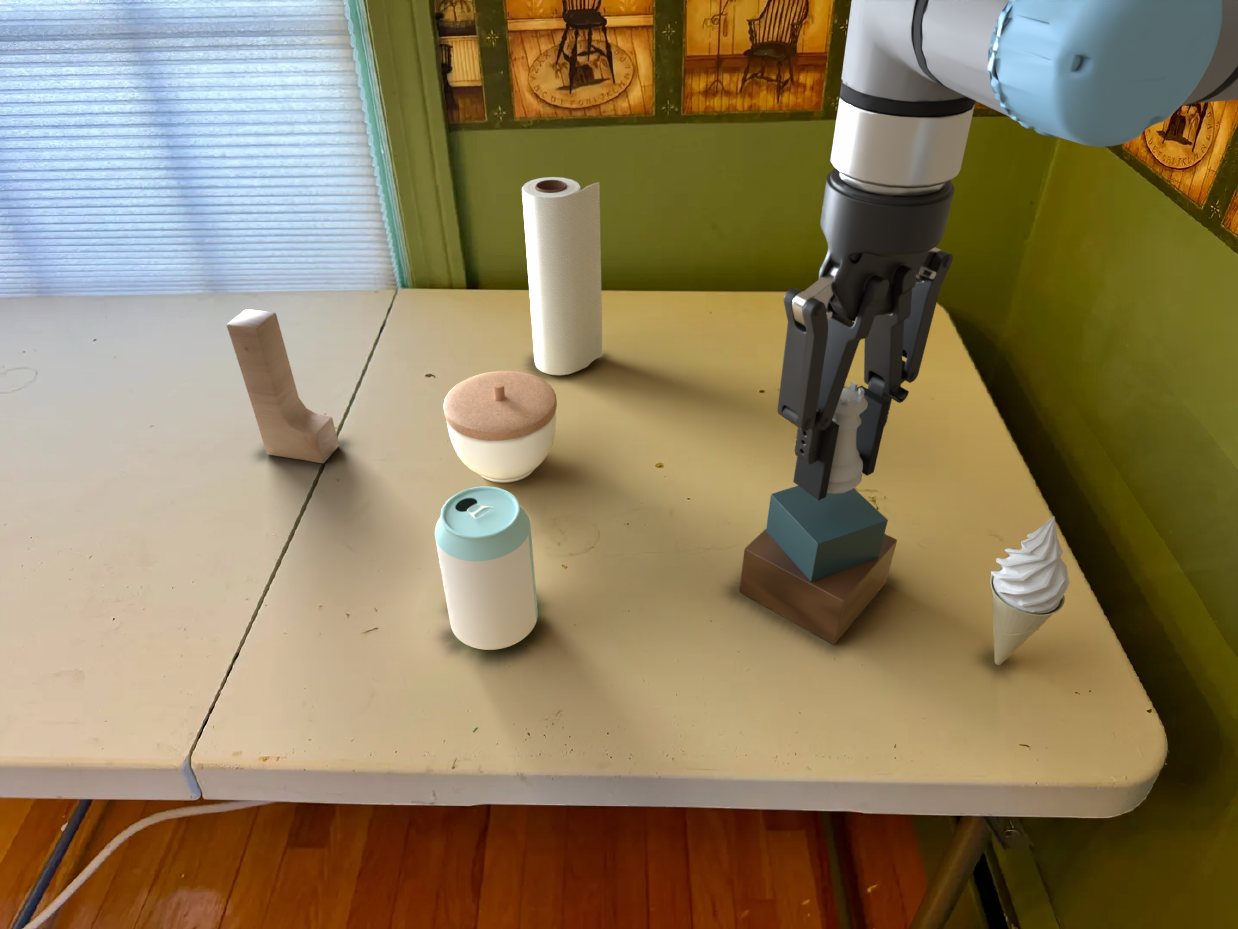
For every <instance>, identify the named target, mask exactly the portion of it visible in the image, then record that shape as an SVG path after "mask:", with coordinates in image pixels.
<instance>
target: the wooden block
mask: <svg viewBox="0 0 1238 929" xmlns="http://www.w3.org/2000/svg"><path fill="white" fill-rule="evenodd" d="M226 328H227V331H228V334H229V337H230V341H231V343H232V347H233V350H234V353H235V356H236V359H237V362H238V365H239V369H240V372H241V375H242V379H243V381H244V384H245V387H246V392H247V394H248V397H249V401H250V404H251V407H252V411H253V413H254V418H255V421H256V423H257V426H258V430H259V433H260V436H261V439H262V443H263V446H264V449H265V453H266V454H267V455H270V456H277V457H281V458H282V457H283V458H289V459H295V460H300V461H307V462H312V463H318V464H325V462H326V461H328V459H329V458H330V457H331V456H332V454H333V453H334V452H335V451H336V450H337V449H338V448H339V446H340V443H339V440H338V435H337V432H336V427H335V423H334V419H333V417H332V416H329V415H323V414H319V413H316V412H314V411H313V410H311V409H308V408H307V407H306V405H305V404H304V403H303V401H302V399H301V398H300V397H299V393H298V390H297V385H296V383H295V382H296V381H295V379H294V374H293V371H292V367H291V363H290V360H289V356H288V352H287V349H286V345H285V341H284V338H283V333H282V331H281V330H282V329H281V327H280V324H279V320H278V316H277V313H276V312H275V311H274V312H273V311H266V310H258V309H249V308H246V309H244V310H243V311H241V312H240V313H239V314H238V315H236V316H235V317H233V318H232V319H231V320H230V321H229V322H227V323H226Z"/></svg>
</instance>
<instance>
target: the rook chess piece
mask: <svg viewBox="0 0 1238 929" xmlns="http://www.w3.org/2000/svg"><path fill="white" fill-rule="evenodd" d="M858 384H859V383H856V382H853V381H851V382H850V385H849V386H846V384H845V385H844V387H843V390H842V393H841V396H840V399H839V402H838V405H837V408H836V411H835V414H834V416H833V419H832V421H833V422H835V423H837V424H838V425H839V430H838V436H837V441H836V446H835V452H834V457H833V462H832V468H831V473H830V478H829V484H828V489H827V493H832V494H839V493H845V492H848V491H850V490H852V489H856V488H857V487H858V486H859V485H860V483H861V482H862V478H863V473H862V470H863V462H862V459H861V457H860V456H859V452H858V450H857V447H856V432H857V427H858V426H859V425H860V424H861V418H860V416H859V414H861V413H862V412H863V411H864V410H865V409H866V408H867V406H868V402H867V400H866V399H865V397H864V392H865V391H864V389H863V388H859V389H858V390H857V387H858Z"/></svg>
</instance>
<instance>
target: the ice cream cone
mask: <svg viewBox="0 0 1238 929" xmlns="http://www.w3.org/2000/svg"><path fill="white" fill-rule="evenodd" d="M1026 537H1027V538H1025V539H1023V540H1021V542H1020V543H1021V548H1020V549H1016V548H1015V547H1008V548H1005V549H1004V552H1005V553H1006V554H1008V555H1009V556H1008V557H1007V558H1000V557H997V558H996V559H995V562H996V563H997V564H998V565H1000V566H1001V567H999V568H997V569H996V570H991V572H990V574H991V576H990V579H989V582H990V588H991V595H992V596H991V597H992V629H993V653H994V654H993V656H994V659H993V660H994V663H995V665H997V666H1000V665H1002V664H1003V663H1004V662H1005V661H1006V660H1007V659H1009V657H1010V656H1011V655H1012V654H1013V653H1015V652H1016V651H1017V650H1018V649H1019V648H1020V647H1021V646H1022V645H1023V644H1024V643H1025V642H1026V641H1027V640H1028V639H1029V638H1030V637H1031V636H1032V635H1033V634H1034V633H1036V632H1037V630H1038V629H1040V628H1041V627H1042V626H1043V625H1044V624H1045V623H1046V622H1047V620H1049V619H1050V618H1051V617H1052V616H1053V615H1054V614H1056V613H1058V612H1059V611H1060V610H1061V609H1063V607H1064V606H1065V603H1066V595H1065V594H1066V592H1067V589H1068V588H1069V585H1070V584H1071V583H1070V582H1071V580H1070V577H1069V571H1068V567H1067V564H1066V563H1065V561H1064V560H1063V559H1062V558H1061V557H1062V556H1063V554H1064V551H1063V550H1064V549H1063V548H1062V546H1061V543H1060V541H1059V539H1058V533H1057V527H1056V517H1055V516H1054V515H1053V516H1051V518H1049V520H1047V521H1046V522H1045V523H1044V524H1043V525H1041V526H1040V527H1039V528H1038V529H1036V530H1035V531H1033V532H1030V533H1028V534H1027V535H1026Z"/></svg>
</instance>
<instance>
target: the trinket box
mask: <svg viewBox="0 0 1238 929" xmlns="http://www.w3.org/2000/svg"><path fill="white" fill-rule="evenodd" d="M557 402H558V400H557V394H556V392H555V389H554V388H553V387H552V386H551V384H549V383H548V382H547V381H546V380H544V379H543V378H541V377H539V376H537V375H534V374H531V373H527V372H522V371H515V370H495V371H488V372H483V373H479V374H476V375H473V376H470V377H467V378H466V379H463V380H462V381H460V382H459V383H457V384H455V385H454V386H453V387H452V388H451V389H450V390H449V391H448V392H447V394H446V396H445V397H444V401H443V406H442V409H443V414H444V419H445V421H446V426H447V430H448V431H447V432H448V435H449V439H450V442H451V444H452V448H453V449H454V451H455V453H456V455H457V456H458V458H459V459H460V461H461V462H462V463H463V464H464V465H465V466H466V467H467V468H468V469H470V470H471V471H473V472H474V473H476V474H478V475H479V476H480V477H481V478H483V479H484V480H486V481H490V482H493V483H500V484H501V483H502V484H503V483H504V484H505V483H508V484H509V483H513V482H518V481H521V480H523V479H526V478H527V477H529V476H530V475H531V474H532V473H533V472H534V471H535V470H536V469H537V468H538V467H539V466H540V465H541V464H542V463H543V462H544V461H545V459H546V458H547V457H548V455H549V454H550V451H551V450H552V447H553V444H554V440H555V436H556V429H557V406H558V403H557Z"/></svg>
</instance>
